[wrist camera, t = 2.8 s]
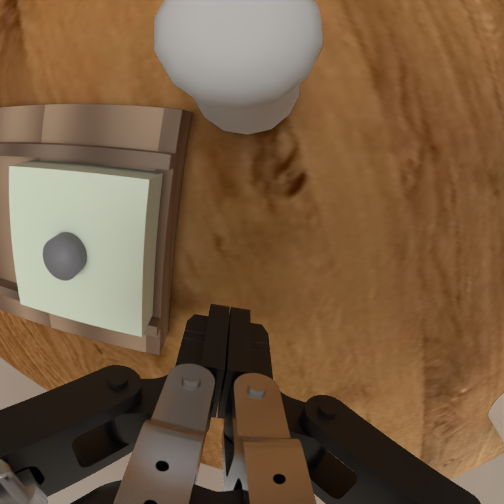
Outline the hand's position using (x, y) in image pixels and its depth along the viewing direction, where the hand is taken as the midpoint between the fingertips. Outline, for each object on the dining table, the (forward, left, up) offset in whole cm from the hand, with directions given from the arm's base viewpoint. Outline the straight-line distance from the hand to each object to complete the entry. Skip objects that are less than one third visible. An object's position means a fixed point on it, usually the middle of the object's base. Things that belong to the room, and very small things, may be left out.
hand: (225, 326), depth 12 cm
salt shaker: (+1, -10, -10) cm, 14 cm away
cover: (+9, 0, -7) cm, 11 cm away
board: (+14, 0, -10) cm, 17 cm away
